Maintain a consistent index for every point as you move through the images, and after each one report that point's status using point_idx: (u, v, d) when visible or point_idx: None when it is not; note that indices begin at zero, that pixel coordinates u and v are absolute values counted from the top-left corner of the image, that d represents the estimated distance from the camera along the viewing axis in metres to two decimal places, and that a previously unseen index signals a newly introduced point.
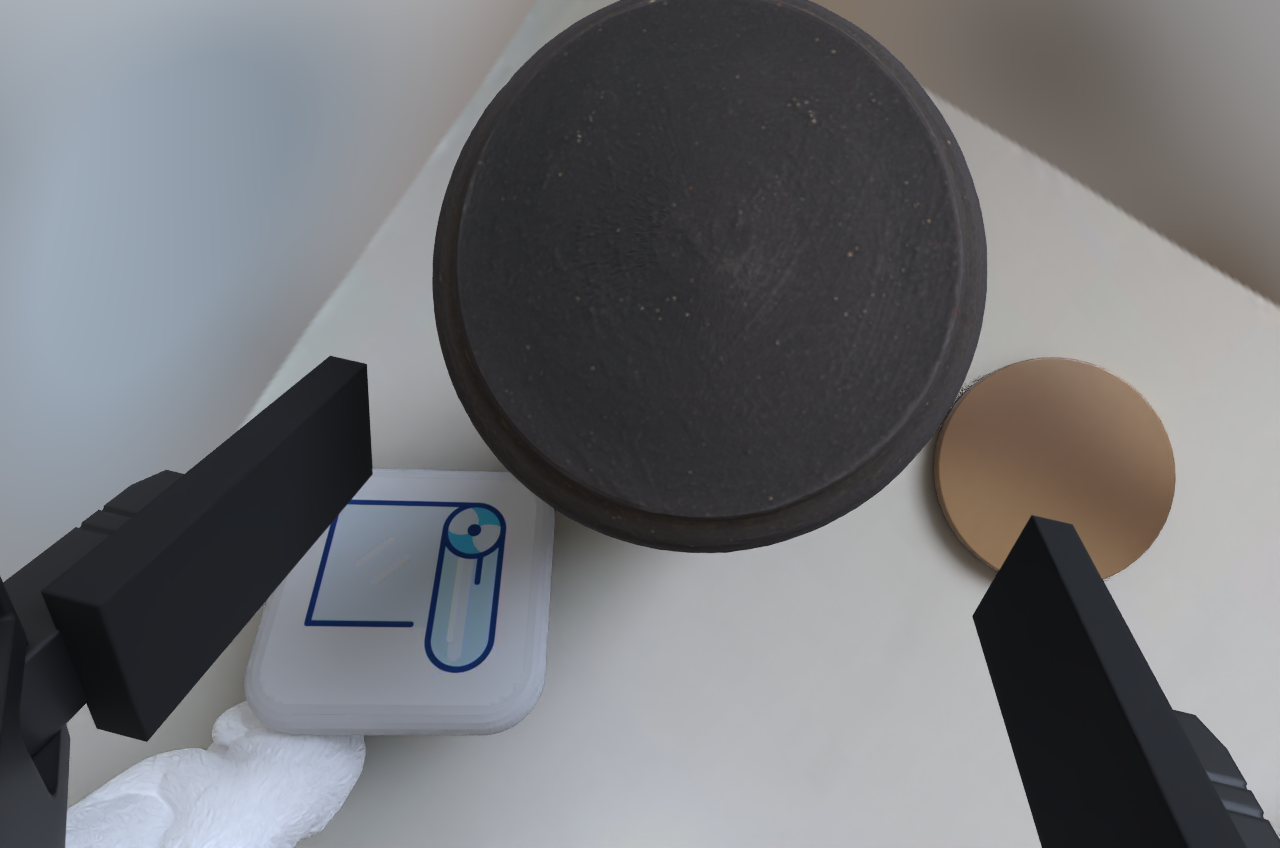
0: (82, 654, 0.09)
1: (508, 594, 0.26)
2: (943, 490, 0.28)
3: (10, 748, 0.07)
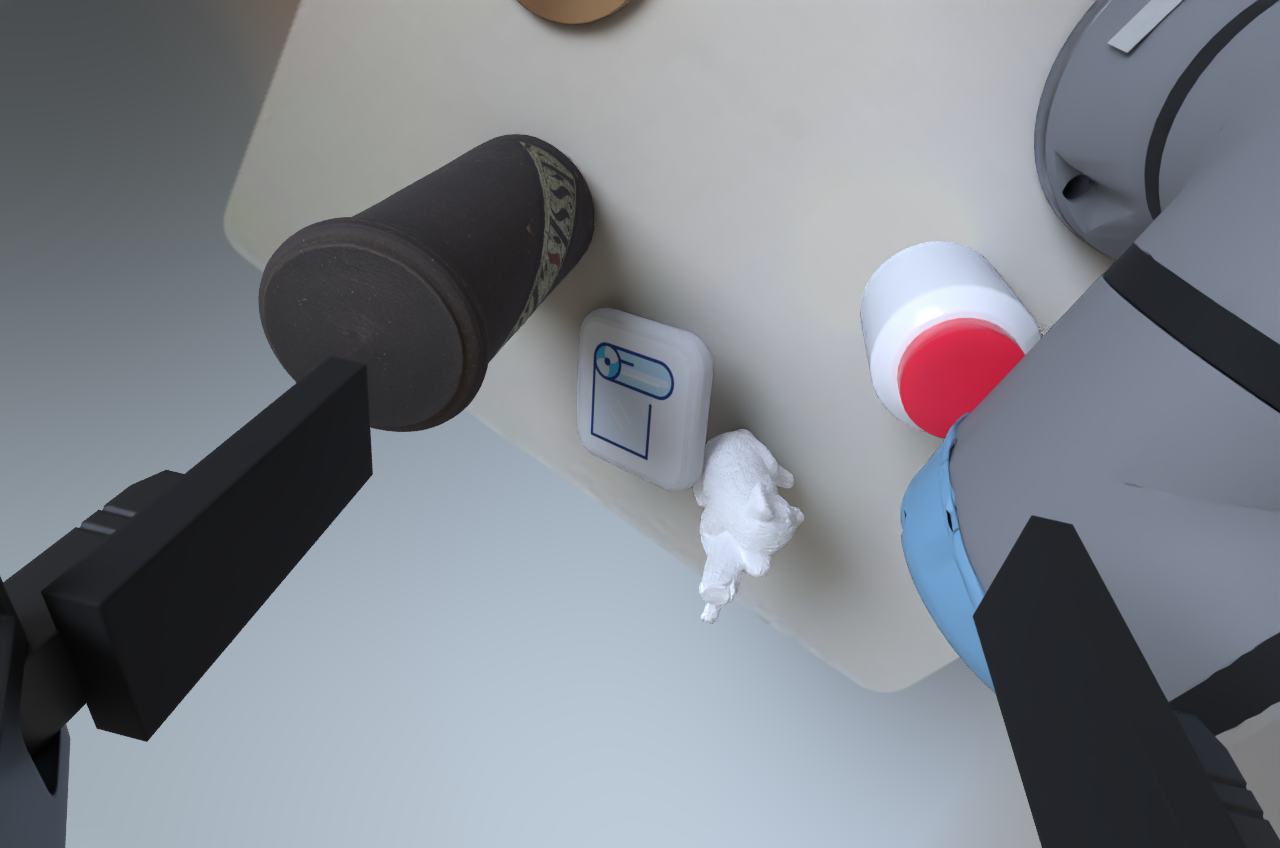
0: (82, 654, 0.09)
1: (639, 348, 0.42)
2: (585, 20, 0.37)
3: (10, 748, 0.07)
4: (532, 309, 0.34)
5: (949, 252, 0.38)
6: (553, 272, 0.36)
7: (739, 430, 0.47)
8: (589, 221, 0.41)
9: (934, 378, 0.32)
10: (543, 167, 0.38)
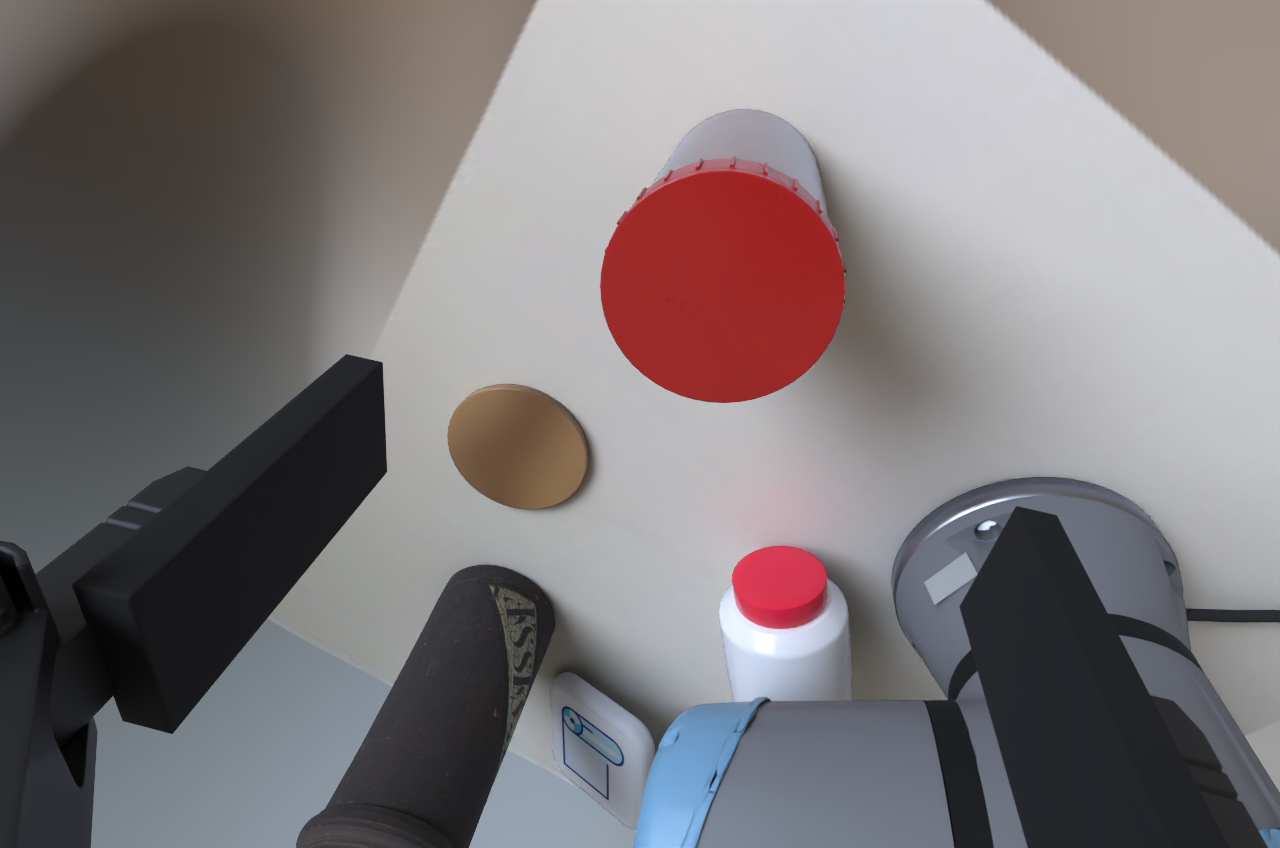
0: (110, 647, 0.09)
1: (596, 723, 0.52)
2: (535, 507, 0.47)
3: (41, 740, 0.08)
4: (502, 760, 0.45)
5: None
6: (518, 716, 0.46)
7: None
8: (549, 628, 0.51)
9: (771, 561, 0.43)
10: (508, 617, 0.48)
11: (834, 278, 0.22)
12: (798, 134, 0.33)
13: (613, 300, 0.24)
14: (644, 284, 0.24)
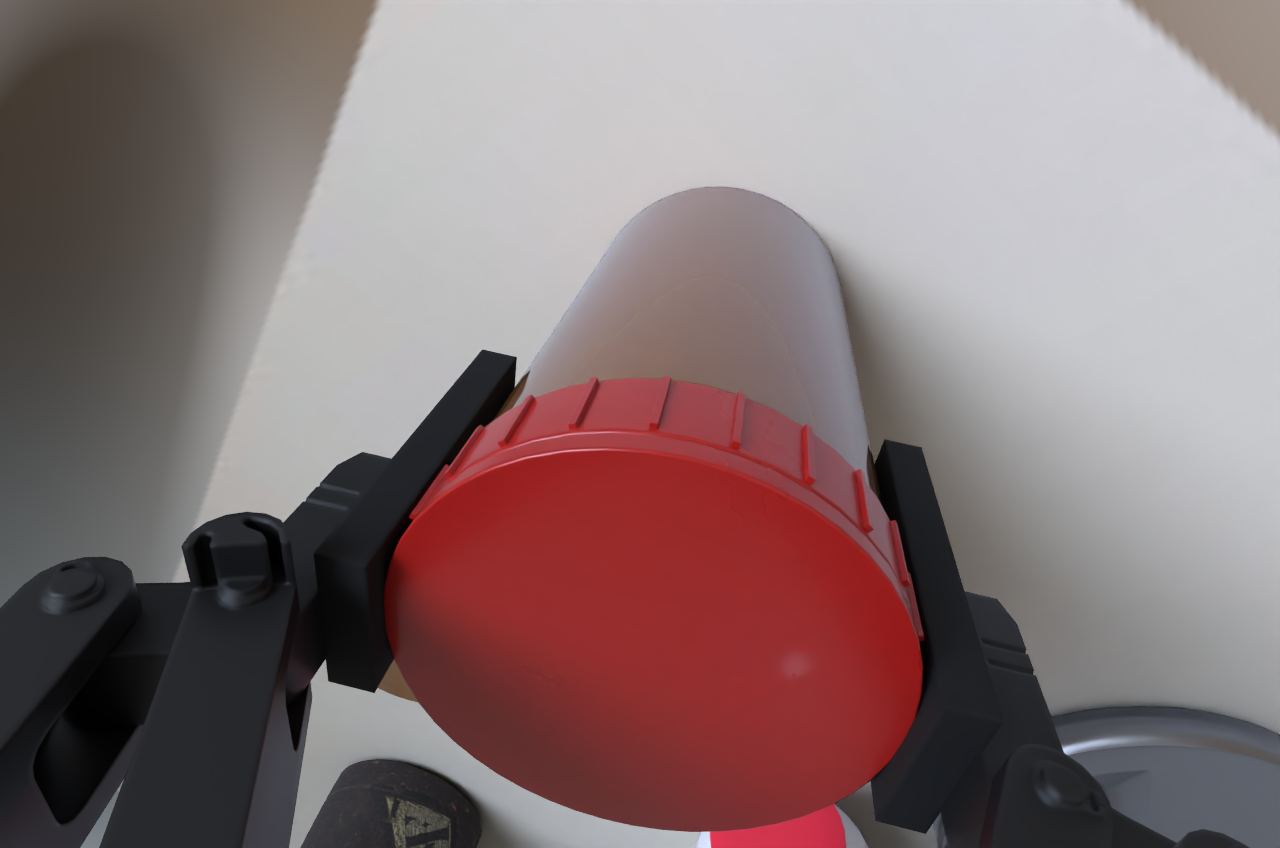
0: (336, 611, 0.10)
1: None
2: None
3: (277, 706, 0.08)
4: None
5: None
6: None
7: None
8: (472, 844, 0.39)
9: None
10: None
11: (899, 669, 0.10)
12: (806, 230, 0.20)
13: (417, 660, 0.11)
14: (478, 641, 0.11)
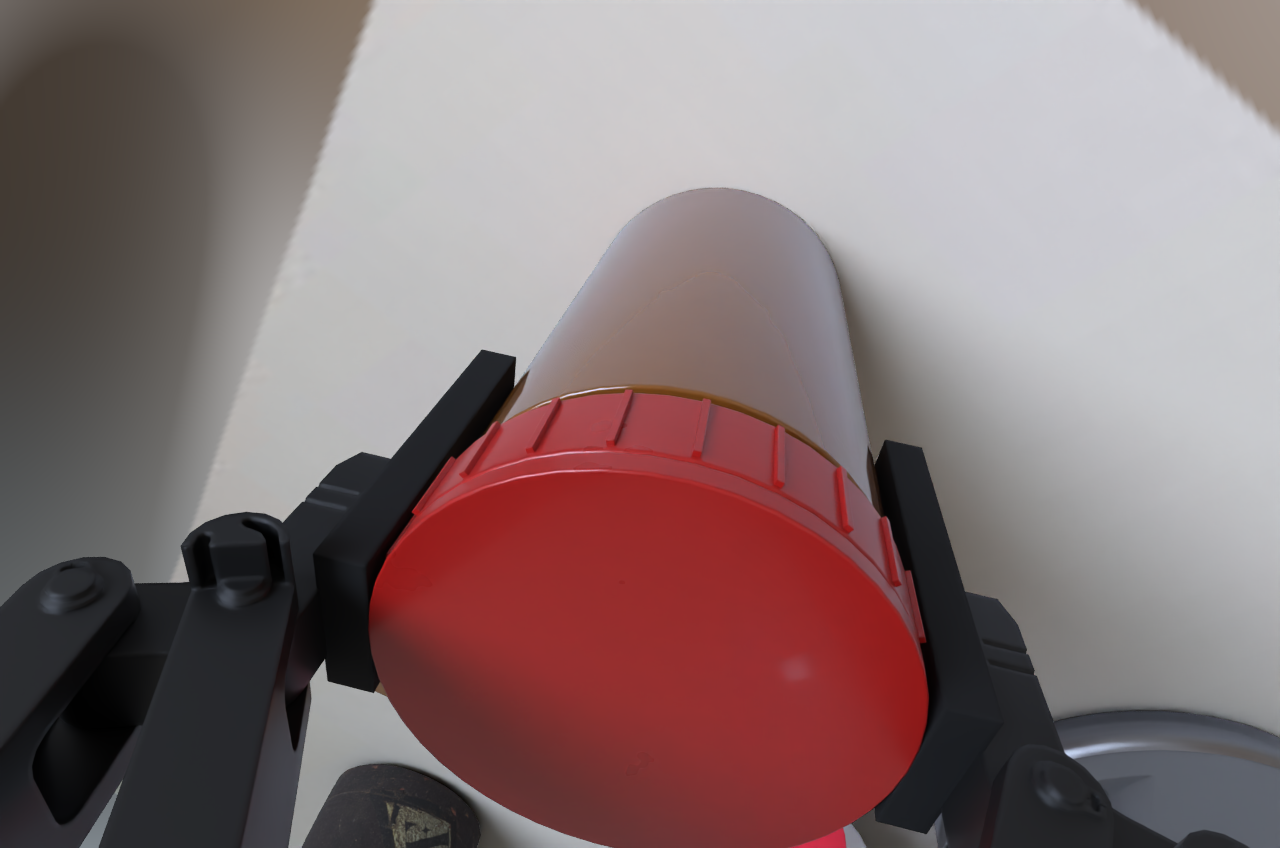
0: (335, 611, 0.10)
1: None
2: None
3: (276, 706, 0.08)
4: None
5: None
6: None
7: None
8: None
9: None
10: None
11: (604, 491, 0.08)
12: (806, 232, 0.20)
13: (624, 837, 0.12)
14: (594, 792, 0.11)
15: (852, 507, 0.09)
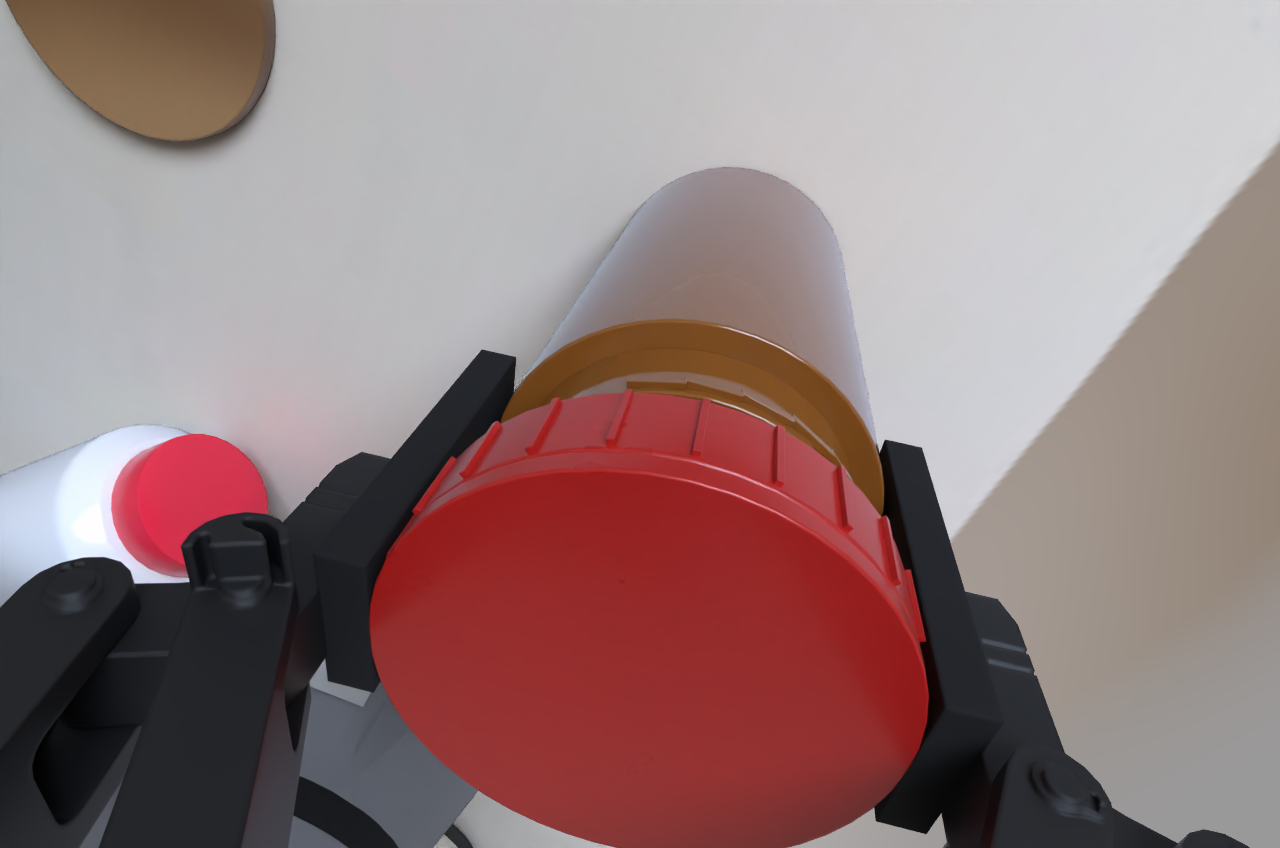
0: (335, 611, 0.10)
1: None
2: (39, 53, 0.23)
3: (276, 706, 0.08)
4: None
5: None
6: None
7: None
8: None
9: (224, 473, 0.29)
10: None
11: (604, 490, 0.08)
12: None
13: (624, 836, 0.12)
14: (595, 792, 0.11)
15: (852, 506, 0.09)
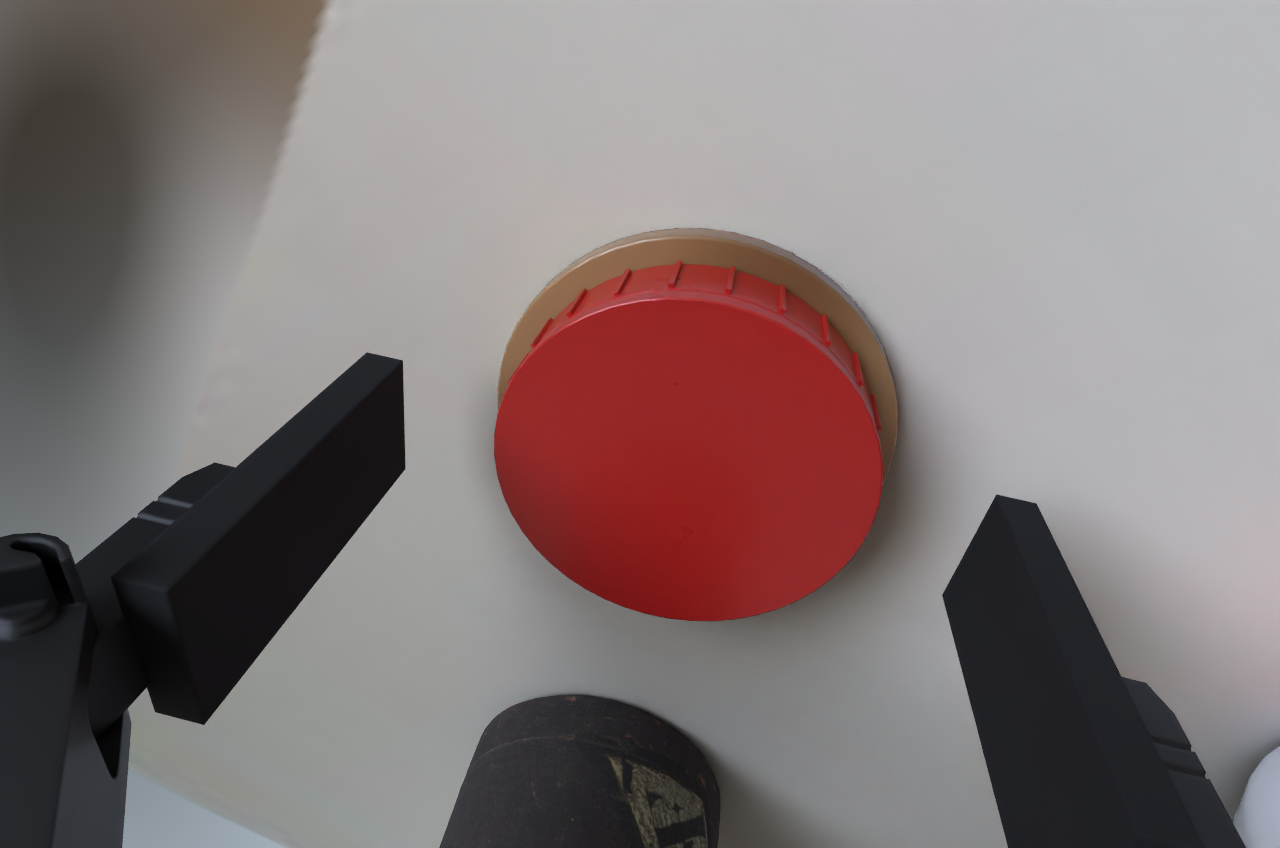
0: (146, 639, 0.09)
1: None
2: None
3: (78, 732, 0.08)
4: None
5: None
6: None
7: None
8: None
9: None
10: None
11: (668, 314, 0.13)
12: None
13: (668, 605, 0.16)
14: (649, 565, 0.16)
15: (831, 336, 0.14)
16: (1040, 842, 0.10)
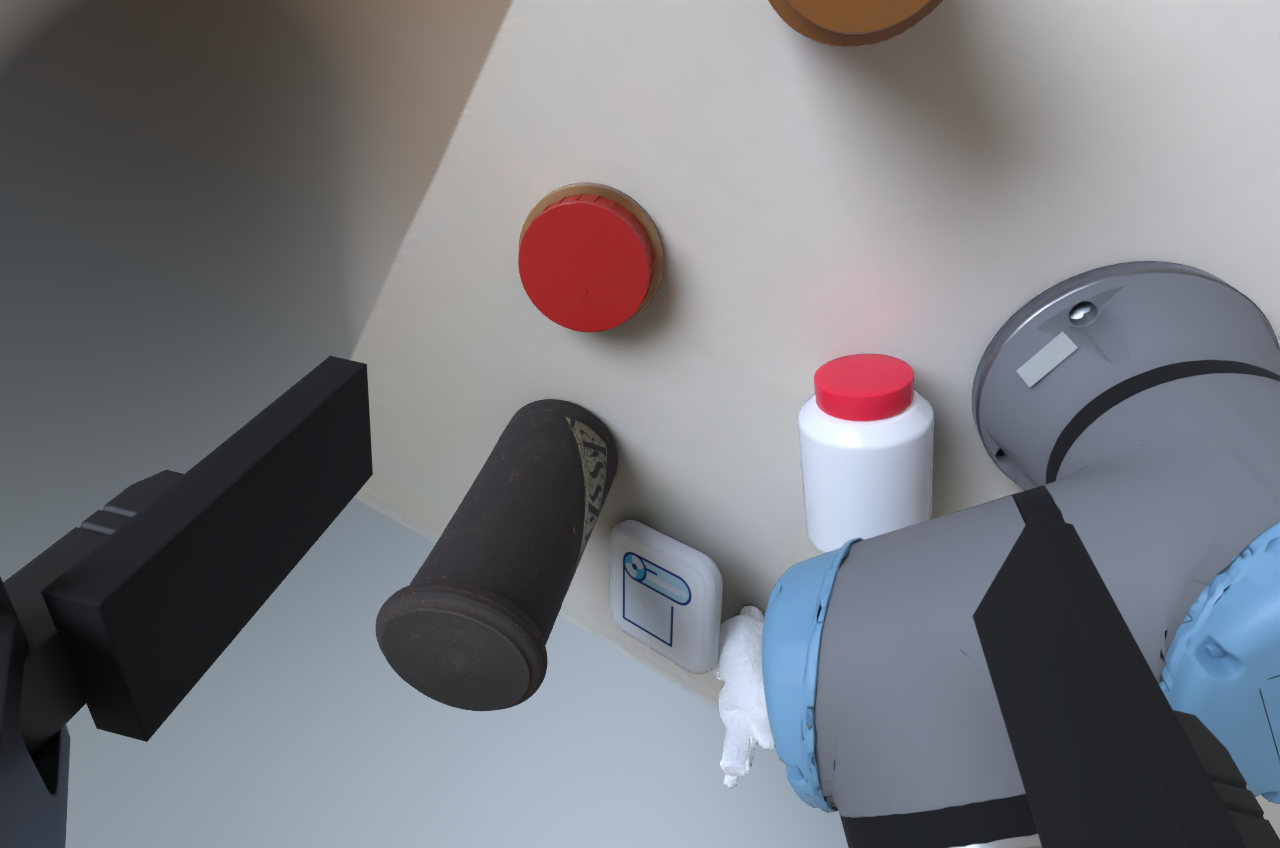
0: (82, 654, 0.09)
1: (661, 563, 0.51)
2: None
3: (10, 748, 0.07)
4: None
5: None
6: (586, 544, 0.45)
7: (747, 607, 0.56)
8: (614, 473, 0.51)
9: (853, 364, 0.42)
10: (584, 448, 0.47)
11: (574, 208, 0.41)
12: None
13: (582, 325, 0.44)
14: (574, 307, 0.44)
15: (630, 217, 0.41)
16: None
